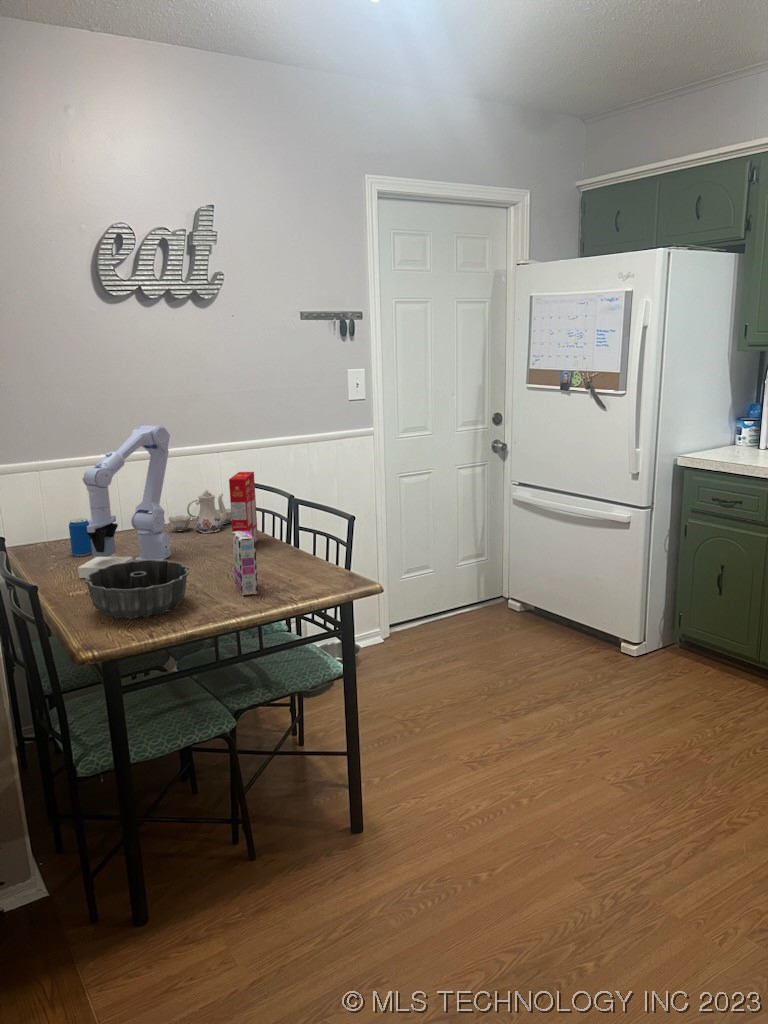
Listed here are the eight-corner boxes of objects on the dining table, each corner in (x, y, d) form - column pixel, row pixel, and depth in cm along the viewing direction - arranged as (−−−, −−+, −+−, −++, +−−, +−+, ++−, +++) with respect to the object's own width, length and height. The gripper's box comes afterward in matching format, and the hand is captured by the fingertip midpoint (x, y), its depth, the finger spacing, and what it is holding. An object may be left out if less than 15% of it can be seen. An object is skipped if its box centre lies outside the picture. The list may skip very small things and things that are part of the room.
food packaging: (243, 540, 271) (239, 471, 265) (257, 540, 271) (253, 471, 265) (233, 551, 257) (228, 479, 251) (249, 551, 256) (244, 479, 251)
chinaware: (229, 523, 304) (224, 483, 301) (249, 526, 291) (245, 484, 288) (163, 536, 286) (157, 493, 284) (182, 539, 273) (176, 494, 271)
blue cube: (115, 552, 236) (113, 536, 235) (108, 556, 231) (106, 541, 230) (100, 552, 236) (98, 536, 235) (92, 556, 231) (90, 540, 230)
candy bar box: (259, 594, 212) (255, 538, 208) (241, 596, 210) (237, 540, 207) (251, 583, 222) (248, 529, 219) (234, 585, 220) (231, 531, 217)
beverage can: (96, 552, 259) (92, 518, 257) (86, 557, 253) (83, 522, 250) (78, 551, 260) (74, 518, 257) (68, 557, 254) (64, 522, 251)
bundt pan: (211, 606, 204) (208, 570, 201) (122, 634, 185) (118, 595, 182) (158, 586, 221) (155, 554, 219) (71, 610, 202) (67, 575, 200)
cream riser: (134, 569, 240) (132, 557, 239) (116, 580, 228) (115, 568, 227) (98, 568, 241) (97, 556, 241) (79, 579, 230) (77, 567, 229)
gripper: (99, 501, 238) (103, 543, 241) (75, 511, 224) (80, 555, 227) (120, 501, 237) (124, 543, 240) (97, 512, 223) (102, 556, 226)
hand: (104, 549), depth 233 cm, fingers closed on blue cube, 5 cm apart
